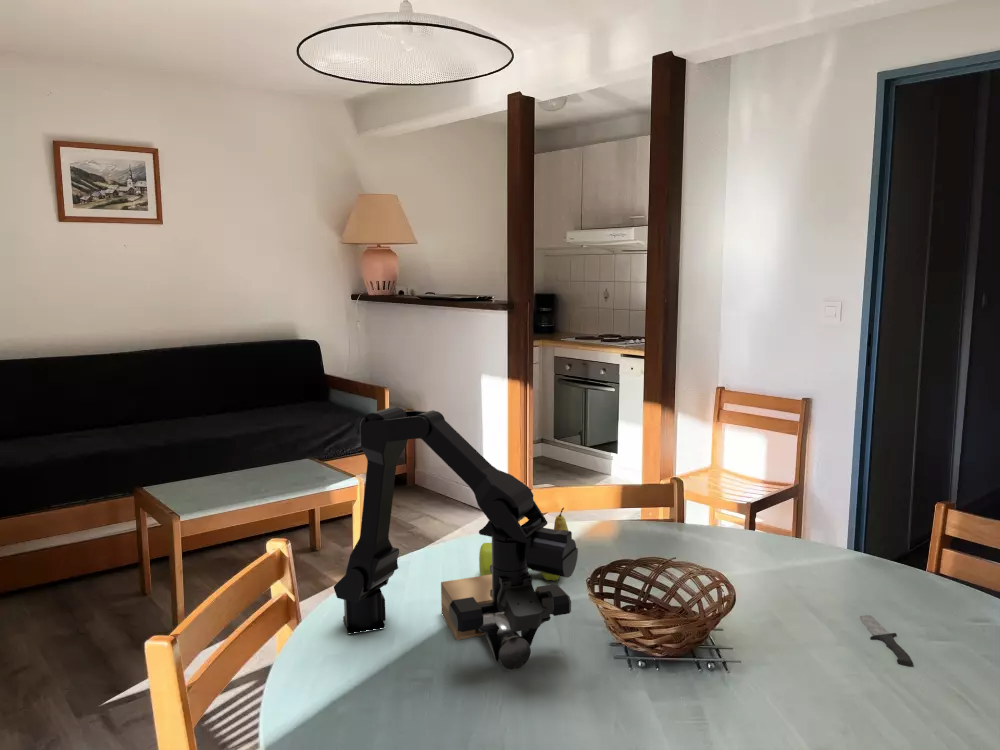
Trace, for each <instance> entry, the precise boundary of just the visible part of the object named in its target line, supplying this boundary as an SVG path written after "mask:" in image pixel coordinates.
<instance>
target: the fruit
mask: <svg viewBox="0 0 1000 750" xmlns="http://www.w3.org/2000/svg"><path fill="white" fill-rule="evenodd" d="M564 510H565V507H562V508H561V510H560V513H559V514H558V515H557V516H556V517H555V520H554V524H553V525H554V526H553V529H554V530H567V531H569V528H568V524H567V521H566V518H565V516H563V514H562V513H563V511H564Z"/></svg>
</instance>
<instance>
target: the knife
mask: <svg viewBox="0 0 1000 750" xmlns="http://www.w3.org/2000/svg"><path fill="white" fill-rule="evenodd" d="M859 620H860V622H861V624H862V625H863V626H864V627H865V628H866V629H867V630H868V631H869V632H870V633H871V634H872V635H871V636H870V637H869V638H870V639H869V640H872V641H875V640H876V641H881V642H882V643H884V644H885V645H886V647H887V648H888V649H890V650H891V652H893V653H894V654H895V656H897V659H896V662H897V664H899V665H902V666H907V667H911V666H913V665H914V662H913V660H912V657H911V656H910V655H909V654H908V652H906V651H905V649H903V647H901V646H900V645H899V644H898V643H897V641H896V640H895V639H894V638H895V637H897V633H896V632H892V633H890V632H889V631H888V630H887V629H886V628H885V627H884V626H883V625H881V623H880V622H879V621H878V620H877V619H876V618H874V616H872V615H871V614H867V615H859Z"/></svg>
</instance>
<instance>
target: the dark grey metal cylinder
mask: <svg viewBox="0 0 1000 750" xmlns="http://www.w3.org/2000/svg"><path fill="white" fill-rule="evenodd" d="M495 623H496V624H497V626H498V627H499V630H498V632H497V635H498V646H499V650H498V658H499V660H498V661H499V662H500V664H501V665H502V666H503V667H504V668H506V669H507V670H517V669H521V668H522V667H523V666H525V664H526V663H527V662H528V661H529V659H530V658H531V653H532V652H531V650H532V649H531V646H530V645H529V643H528V642H527V641H526V639H525V638H523V637H521V635H520V634H519V633H518V631H513V630H512V629H511V628H510V626H509V622H508V620H507V618H506V617H505V616H504V614H498V615H495ZM484 633H485V632H484Z"/></svg>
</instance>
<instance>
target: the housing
mask: <svg viewBox="0 0 1000 750" xmlns="http://www.w3.org/2000/svg"><path fill="white" fill-rule="evenodd" d="M490 590H492V574H491V575H484V576H481V575H477V576H473V577H471V576H470V577H466V578H459V579H452V580H446V581H440V591H441V592H440V594H441V595H440V596H441V600H440V601H441V602H440V603H441V605H440V606H441V615H442V614H443V616H444V617H443V616H442V617H443V619H444V618H445V619H444V621H445V620H446V621H445V623H446V624H447V626H448V627H449V629H450V631H451V633H452V635H453V636H454V638H455V640H456V641H459V640H464V639H470V638H475V636H476V637H482V636H486V635H485V633H484V632H480V631H479V630H478V629H477V630H471V631H465V632H460V631H458V630H457V628H456V627H455V625H454V623H453V622H452V620H451V618H450V617H449V605H450V604H451V602H452V601H453V600H457V599H463V598H469V597H474V599H475V600H476V602H477V603H478V605H479V604H485V603H491V602H492V597H491V596H490ZM504 616H505V617H506V615H505V613H504ZM506 618H507V617H506ZM481 635H482V636H481Z"/></svg>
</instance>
